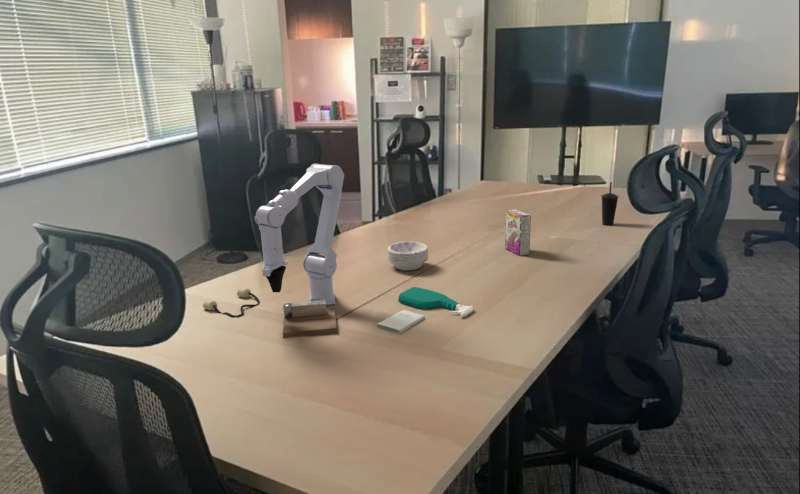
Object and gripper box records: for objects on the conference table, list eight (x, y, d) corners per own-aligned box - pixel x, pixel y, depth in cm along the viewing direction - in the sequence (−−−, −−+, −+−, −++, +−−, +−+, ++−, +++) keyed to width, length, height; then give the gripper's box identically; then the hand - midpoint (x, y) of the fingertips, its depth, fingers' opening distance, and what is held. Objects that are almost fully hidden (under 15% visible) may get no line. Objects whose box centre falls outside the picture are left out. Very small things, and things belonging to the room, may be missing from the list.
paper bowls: (405, 276, 203) (405, 255, 201) (380, 266, 214) (379, 246, 212) (436, 266, 212) (436, 246, 210) (410, 258, 223) (410, 239, 221)
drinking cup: (618, 223, 265) (621, 181, 260) (614, 227, 259) (617, 184, 254) (601, 221, 269) (604, 180, 264) (597, 225, 263) (600, 183, 258)
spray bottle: (415, 293, 187) (479, 310, 173) (395, 303, 179) (460, 322, 165) (415, 285, 187) (479, 301, 172) (394, 295, 178) (460, 313, 164)
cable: (274, 303, 182) (273, 293, 181) (233, 321, 170) (231, 311, 169) (243, 294, 191) (242, 285, 190) (202, 310, 179) (200, 300, 178)
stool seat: (285, 316, 171) (283, 301, 169) (334, 312, 173) (333, 297, 171) (283, 337, 157) (281, 321, 155) (337, 332, 159) (335, 316, 157)
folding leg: (283, 318, 165) (282, 307, 164) (284, 314, 168) (283, 303, 167) (326, 314, 167) (325, 303, 166) (326, 310, 170) (325, 299, 169)
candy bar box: (504, 249, 231) (505, 210, 227) (514, 247, 233) (515, 208, 228) (519, 256, 221) (520, 215, 217) (530, 254, 223) (531, 214, 218)
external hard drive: (377, 328, 162) (402, 314, 172) (399, 335, 157) (424, 320, 167) (376, 323, 162) (402, 309, 171) (399, 330, 157) (424, 314, 166)
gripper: (278, 254, 154) (282, 300, 158) (293, 240, 168) (297, 283, 172) (253, 254, 155) (258, 300, 158) (270, 240, 168) (274, 282, 172)
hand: (276, 291), depth 165 cm, fingers closed
